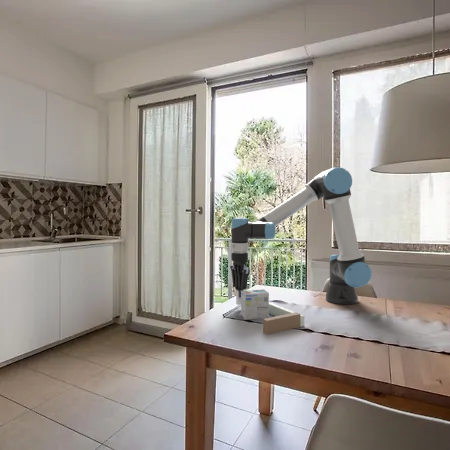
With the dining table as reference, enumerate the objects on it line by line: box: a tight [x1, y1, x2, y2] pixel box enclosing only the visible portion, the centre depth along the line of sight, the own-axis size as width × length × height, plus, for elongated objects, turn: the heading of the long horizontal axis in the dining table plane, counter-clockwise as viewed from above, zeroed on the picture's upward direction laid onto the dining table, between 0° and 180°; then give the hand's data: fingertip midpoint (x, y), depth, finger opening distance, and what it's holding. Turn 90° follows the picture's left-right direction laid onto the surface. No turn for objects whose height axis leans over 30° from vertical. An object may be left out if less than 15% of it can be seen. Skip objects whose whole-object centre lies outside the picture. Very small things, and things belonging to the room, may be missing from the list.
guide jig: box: [262, 301, 305, 335], centre depth 133 cm, size 18×24×5 cm
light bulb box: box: [240, 289, 270, 321], centre depth 138 cm, size 11×7×11 cm, turn 104°
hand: (239, 303), depth 149 cm, fingers closed
